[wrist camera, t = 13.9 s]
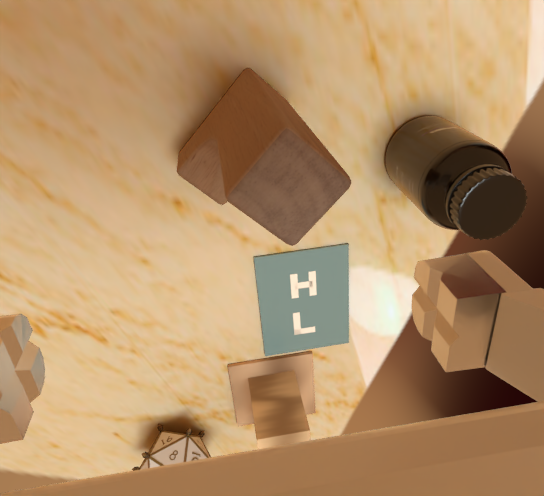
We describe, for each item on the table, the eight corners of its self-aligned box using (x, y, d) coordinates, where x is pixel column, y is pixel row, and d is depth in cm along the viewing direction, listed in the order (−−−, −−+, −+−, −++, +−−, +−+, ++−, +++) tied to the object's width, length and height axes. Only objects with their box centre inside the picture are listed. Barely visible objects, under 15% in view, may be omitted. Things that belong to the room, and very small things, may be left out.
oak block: (252, 410, 53) (261, 474, 46) (248, 377, 51) (256, 439, 44) (296, 403, 54) (312, 465, 47) (294, 370, 51) (309, 430, 44)
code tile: (264, 354, 50) (265, 356, 50) (253, 256, 44) (253, 257, 44) (348, 341, 51) (348, 342, 51) (347, 243, 45) (348, 244, 45)
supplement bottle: (437, 96, 39) (525, 135, 29) (469, 159, 43) (558, 214, 32) (367, 146, 41) (427, 201, 30) (403, 203, 44) (468, 271, 33)
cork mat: (237, 423, 54) (237, 426, 54) (227, 364, 50) (227, 367, 50) (314, 410, 55) (315, 412, 55) (311, 350, 51) (312, 353, 50)
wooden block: (220, 187, 41) (236, 312, 25) (176, 154, 39) (164, 268, 23) (290, 103, 38) (357, 183, 22) (246, 64, 36) (286, 123, 21)
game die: (165, 419, 58) (104, 490, 50) (184, 389, 52) (118, 466, 45) (222, 467, 57) (169, 547, 49) (248, 443, 51) (191, 530, 44)
